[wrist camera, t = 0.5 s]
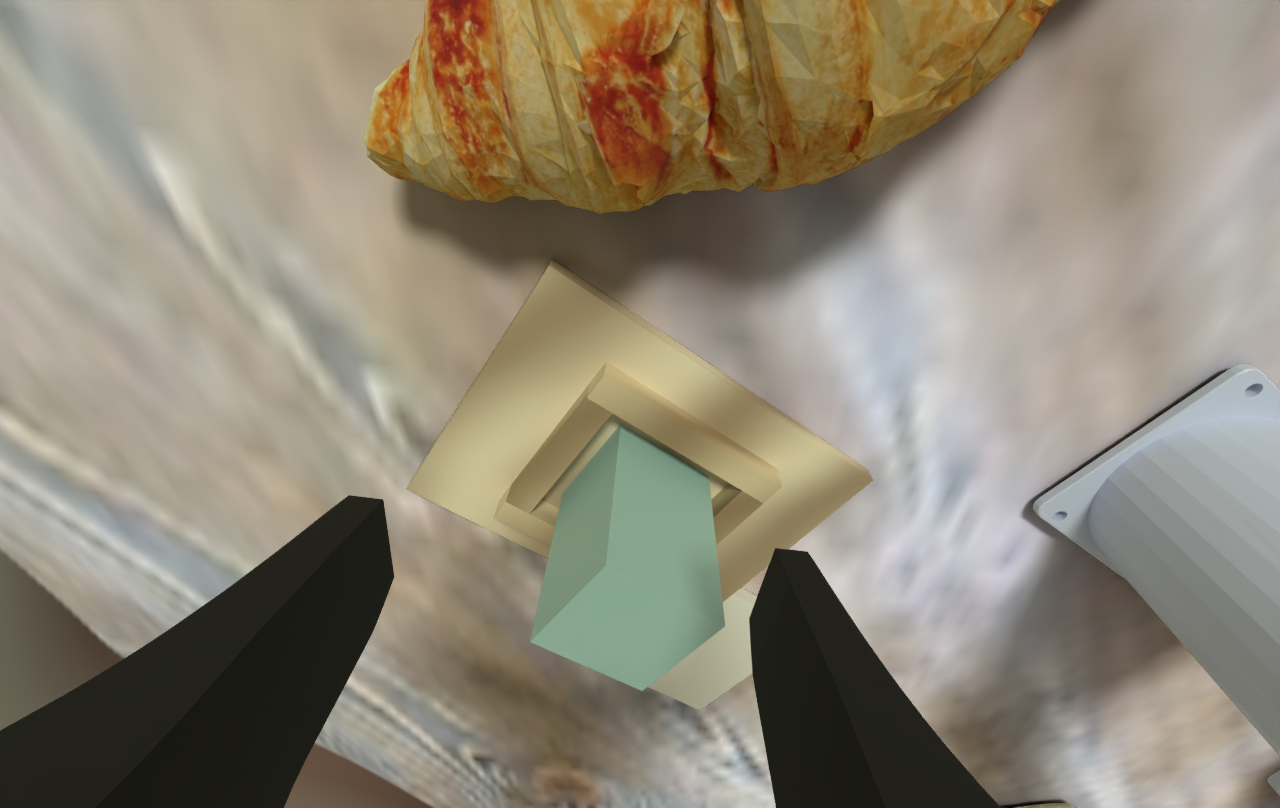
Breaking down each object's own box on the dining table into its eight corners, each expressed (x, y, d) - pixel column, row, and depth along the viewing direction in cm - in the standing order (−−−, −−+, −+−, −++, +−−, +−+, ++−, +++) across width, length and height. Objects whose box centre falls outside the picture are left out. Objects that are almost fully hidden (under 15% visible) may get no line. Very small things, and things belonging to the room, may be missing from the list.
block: (708, 476, 21) (725, 626, 16) (646, 537, 23) (642, 691, 18) (620, 424, 20) (605, 566, 15) (562, 492, 22) (529, 642, 17)
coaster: (805, 622, 27) (808, 633, 26) (699, 698, 30) (699, 710, 30) (668, 549, 24) (668, 560, 24) (570, 641, 28) (568, 652, 27)
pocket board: (868, 470, 22) (881, 498, 20) (689, 617, 27) (691, 648, 25) (552, 259, 18) (543, 277, 16) (411, 478, 23) (396, 506, 21)
